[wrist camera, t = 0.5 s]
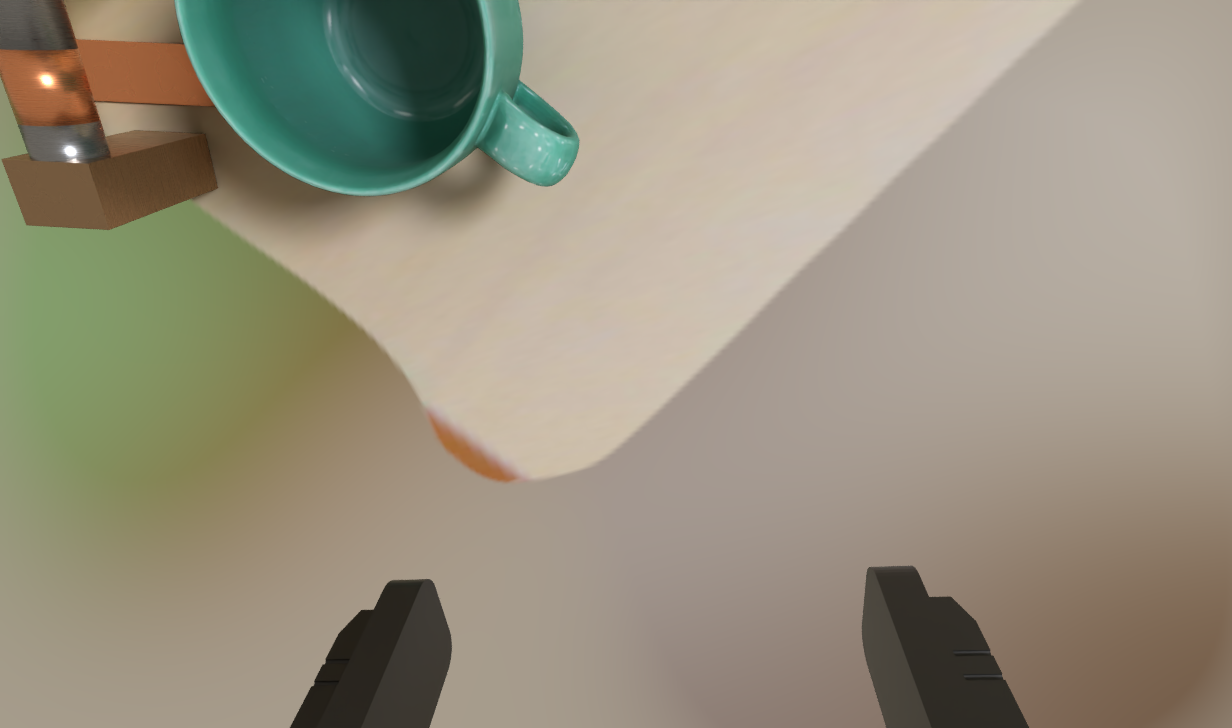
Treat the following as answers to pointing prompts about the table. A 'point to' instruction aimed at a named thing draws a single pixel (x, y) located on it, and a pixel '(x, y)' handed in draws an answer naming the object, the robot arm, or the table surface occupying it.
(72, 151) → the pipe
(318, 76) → the mug
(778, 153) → the table surface
